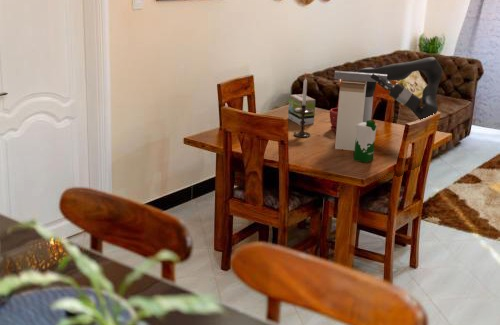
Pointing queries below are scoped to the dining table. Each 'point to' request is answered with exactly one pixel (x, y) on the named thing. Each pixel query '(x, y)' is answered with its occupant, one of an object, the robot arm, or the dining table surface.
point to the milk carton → (365, 141)
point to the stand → (349, 113)
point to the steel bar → (358, 76)
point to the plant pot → (334, 120)
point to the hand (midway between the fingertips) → (372, 74)
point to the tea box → (296, 102)
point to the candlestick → (303, 113)
